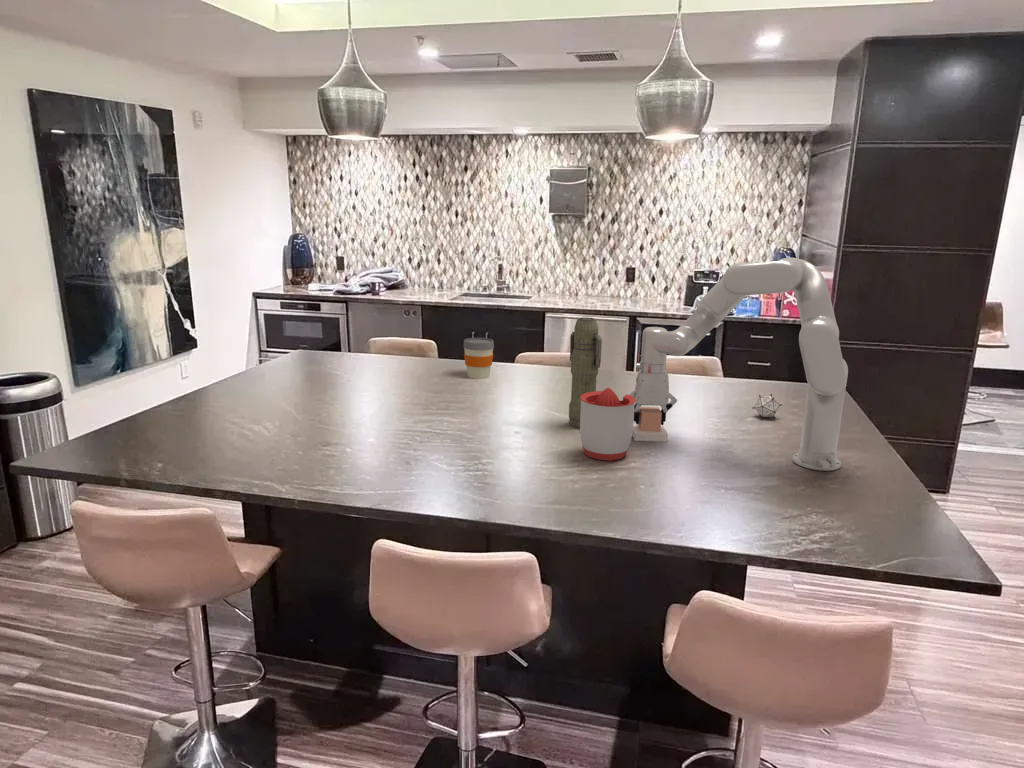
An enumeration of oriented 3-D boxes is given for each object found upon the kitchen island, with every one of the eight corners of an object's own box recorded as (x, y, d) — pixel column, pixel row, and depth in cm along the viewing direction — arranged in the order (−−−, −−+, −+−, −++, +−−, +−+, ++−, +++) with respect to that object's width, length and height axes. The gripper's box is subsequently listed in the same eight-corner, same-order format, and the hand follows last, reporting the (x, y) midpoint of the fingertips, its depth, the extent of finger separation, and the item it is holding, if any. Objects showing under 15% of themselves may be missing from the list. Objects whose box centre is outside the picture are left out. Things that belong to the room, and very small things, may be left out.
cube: (660, 431, 218) (661, 412, 217) (640, 431, 218) (642, 412, 217) (657, 425, 224) (658, 407, 223) (637, 425, 224) (639, 406, 223)
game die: (769, 429, 243) (784, 412, 235) (746, 419, 244) (760, 401, 236) (773, 411, 249) (787, 393, 241) (750, 401, 250) (763, 383, 242)
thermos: (575, 418, 239) (579, 314, 230) (604, 425, 231) (610, 319, 223) (559, 423, 232) (563, 317, 224) (589, 431, 225) (594, 322, 216)
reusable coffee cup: (499, 375, 295) (500, 339, 292) (482, 381, 285) (482, 344, 281) (474, 371, 302) (475, 336, 298) (457, 376, 292) (457, 341, 288)
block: (667, 441, 217) (667, 433, 216) (634, 440, 217) (635, 433, 216) (661, 431, 227) (661, 423, 226) (629, 430, 227) (630, 423, 226)
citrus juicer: (642, 450, 209) (646, 384, 204) (619, 468, 195) (624, 397, 190) (593, 440, 217) (596, 377, 212) (568, 457, 202) (571, 389, 197)
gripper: (626, 370, 213) (622, 426, 217) (684, 371, 213) (679, 427, 217) (622, 364, 220) (619, 419, 225) (679, 365, 220) (674, 420, 224)
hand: (649, 423), depth 221 cm, fingers open, 7 cm apart
